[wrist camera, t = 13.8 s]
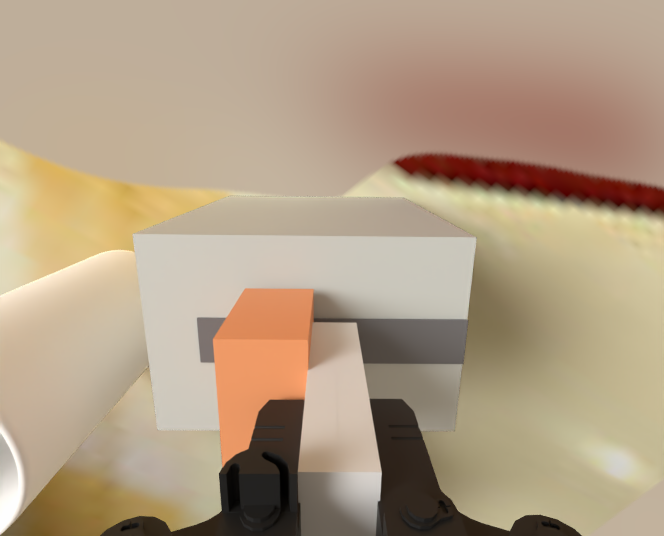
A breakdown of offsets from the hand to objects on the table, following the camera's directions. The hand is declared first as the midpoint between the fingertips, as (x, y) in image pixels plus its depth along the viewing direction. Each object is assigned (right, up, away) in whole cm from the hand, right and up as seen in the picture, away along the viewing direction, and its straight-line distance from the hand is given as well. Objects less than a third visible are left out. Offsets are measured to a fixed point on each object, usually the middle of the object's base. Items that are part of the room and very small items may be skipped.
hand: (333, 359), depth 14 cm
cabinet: (-1, +4, +15) cm, 15 cm away
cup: (-15, +1, +16) cm, 22 cm away
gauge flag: (-2, 0, +1) cm, 2 cm away
